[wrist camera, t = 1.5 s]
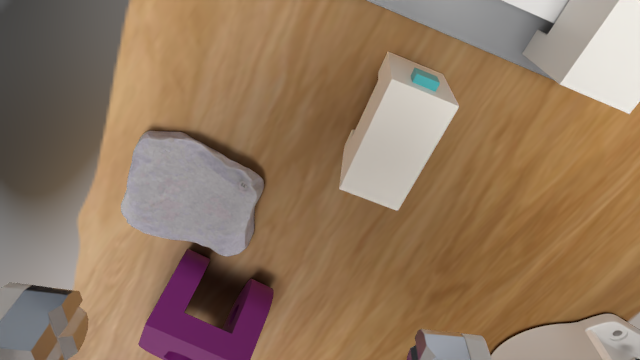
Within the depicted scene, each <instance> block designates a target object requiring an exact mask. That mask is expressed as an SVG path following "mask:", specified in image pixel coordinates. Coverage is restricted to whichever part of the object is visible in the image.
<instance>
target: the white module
mask: <svg viewBox="0 0 640 360" xmlns="http://www.w3.org/2000/svg"><path fill="white" fill-rule="evenodd" d="M458 108H459V105H458V103H457V101H456V99H455V97H454V95H453V93H452V91H451V89H450V87H449V85H448V83H447V81H446V79H445V77H444V75H443V74H441V73H439V72H437V71H434V70H432V69H429V68H427V67H425V66H422V65H420V64H417V63H415V62H413V61H410V60H408V59H405V58H403V57H400V56H398V55H396V54H393V53H391V52H387V54H386V56H385V58H384V61H383V63H382V65H381V67H380V69H379V72H378V82H377V84H376V86H375V88H374V90H373V93H372V95H371V97H370V99H369V101H368V103H367V106H366V108H365V110H364V112H363V114H362V116H361V119H360V121H359V123H358V125H357V127H356V129H355V130H354V129H352V131H351V133H350V135H349V137H348V139H347V142H346V144H345V146H344V153H343V161H342V169H341V178H340V186H339V189H340V190H343V191H346V192H348V193H351V194H354V195H356V196H359V197H362V198H364V199H367V200H370V201H372V202H375V203H378V204H380V205H383V206H386V207H388V208H391V209H394V210H396V211H398V210H399V208H400V206H401V205H402V203H403V201H404V200H405V198H406V196H407V195H408V193H409V191H410V189H411V188H412V186H413V184H414V183H415V181H416V179H417V178H418V176H419V174H420V172H421V171H422V169H423V167H424V166H425V164H426V162H427V161H428V159H429V157H430V155H431V154H432V152H433V150H434V149H435V147H436V145H437V144H438V142H439V140H440V139H441V137H442V135H443V133H444V132H445V130H446V128H447V127H448V125H449V123H450V122H451V120H452V118H453V116H454V115H455V113H456V111H457V110H458Z"/></svg>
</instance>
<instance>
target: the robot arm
mask: <svg viewBox="0 0 640 360" xmlns="http://www.w3.org/2000/svg"><path fill="white" fill-rule="evenodd" d="M81 302H82V297H81V295H80V292H79V291H74V290H66V289H58V288H51V287H43V286H36V285H28V284H20V283H12V282H10V283H8V284H7V285H5V286H3V287H2V288H1V289H0V360H67V359H69V358H70V357H72V356H73V355H75V354H76V353H77V352H78V351H79V349H80V348H81V346H82V344H83V342H84V340H85V336H86V333H87V330H88V317H87V313H86V312H85V311H84V310H83V309H81V308H80V307H79V305H80V304H81ZM415 341H416V345H415V346H413V347H412V348H410V350H409V353H408V356H407V360H640V330H639V329H638V328H636V327H634V326H633V325H631V324H629V323H628V322H626V321H625V320H623V319H621V318H620V317H618V316H616V315H614V314H602V315H598V316H594V317H591V318H588V319H585V320H582V321H580V322H575V323H566V324H554V325H547V326H542V327H537V328H534V329H530V330H527V331H525V332H522V333H520V334H518V335H516V336H514V337H512V338H510V339H508V340H507V341H505V342H504V343H503V344H501V345H500V346H499V347H498V348H497V349H496V350H495V351H494V352H493V353H492V355H491V356H490V353H489V350H488V347H487V344H486V341H485V339H484V338H483V337H482V336H480V335H472V334H460V333H458V332H448V331H438V330H427V329H420V330H419V331H418V332H417V334H416V336H415Z"/></svg>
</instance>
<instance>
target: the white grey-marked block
mask: <svg viewBox="0 0 640 360" xmlns="http://www.w3.org/2000/svg"><path fill="white" fill-rule="evenodd" d="M522 54H523V55H524V56H525V57H527V58H528V59H529V60H530V61H532V62H533V63H534V64H535V65H536V66H538V67H539V68H540V69H541V70H543V71H544V72H545V73H546V74H548V75H549V76H550V77H551V78H553V79H554V80H555V81H556V82H558V83H559V84H560V85H563V86H565V87H567V88H570V89H572V90H574V91H577V92H579V93H581V94H584V95H586V96H588V97H591V98H593V99H595V100H598V101H600V102H603V103H605V104H607V105H610V106H612V107H614V108H617V109H619V110H621V111H624V112H626V113H628V114H630V113H631V111H632V110H633V109H634V108H635V107H636V105H637V104H638V103H639V102H640V0H569V2H568V4H567V5H566V7H565V8H564V10H563V11H562V13H561V14H560V16H559V17H558V19H557V21H556V22H555V24H554V25H553V27H552V28H551V30H550V31H549V33H548V34H547V33H544V32H542V31H540V30H537V31H536V33H535V34H534V36H533V37H532V39H531V41H530V42H529V44H528V45H527V47H526V48H525V50H524V52H523V53H522Z"/></svg>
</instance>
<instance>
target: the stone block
mask: <svg viewBox="0 0 640 360" xmlns="http://www.w3.org/2000/svg"><path fill="white" fill-rule="evenodd" d="M263 188H264V181H263V179H262V178H261V177H260V176H259V175H258V174H257V173H255V172H253V171H252V170H251V169H249V168H247V167H244V166H242V165H241V164H239V163H237V162H234V161H232V160H230V159H228V158H227V157H226V156H225V155H222V154H221V153H219V152H218V151H216V150H214V149H212V148H210V147H208V146H206V145H205V144H203V143H202V142H199V141H197V140H195V139H193V138H191V137H190V136H188V135H187V134H185V133H183V132H167V131H147V132H145V133H144V134H143V135H142V136H141V138H140V139H139V142H138V143H137V145H136V147H135V150H134V152H133V157H132V163H131V167H130V171H129V176H128V182H127V190H126V193H125V196H124V199H123V201H122V203H121V212H122V214H123V216H124V217H125V218H126V219H127V223H128V224H130V225H131V226H132V227H134V228H136V229H138V230H140V231H142V232H143V233H146V234H150V235H153V236H158V237H161V238H166V239H171V240H184V241H190V242H195V243H198V244H200V245H202V246H206V247H209V248H211V249H212V250H214V251H215V252H217V253H218V254H220V255H222V256H232V255H236V254H239V253H241V252H242V251H243V250H245V249H246V248H247V246H248V245H249V242H250V240H251V238H252V235H253V233H254V213H255V209H254V208H255V205H256V203H257V201H258V200H259V198H260V196H261V194H262V191H263Z"/></svg>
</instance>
